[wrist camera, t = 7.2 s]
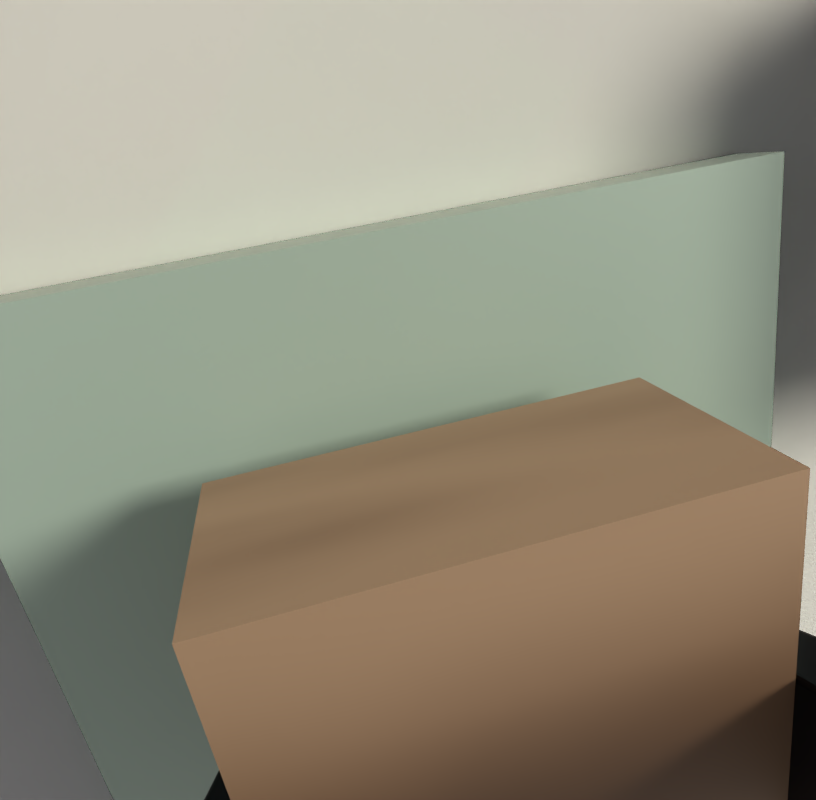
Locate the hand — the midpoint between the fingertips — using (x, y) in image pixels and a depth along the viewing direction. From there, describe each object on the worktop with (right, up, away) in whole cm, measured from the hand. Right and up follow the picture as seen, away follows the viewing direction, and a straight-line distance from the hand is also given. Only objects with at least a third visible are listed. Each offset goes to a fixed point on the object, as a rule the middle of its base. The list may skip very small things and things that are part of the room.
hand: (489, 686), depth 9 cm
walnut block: (0, 0, +1) cm, 1 cm away
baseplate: (-1, +1, +3) cm, 3 cm away
